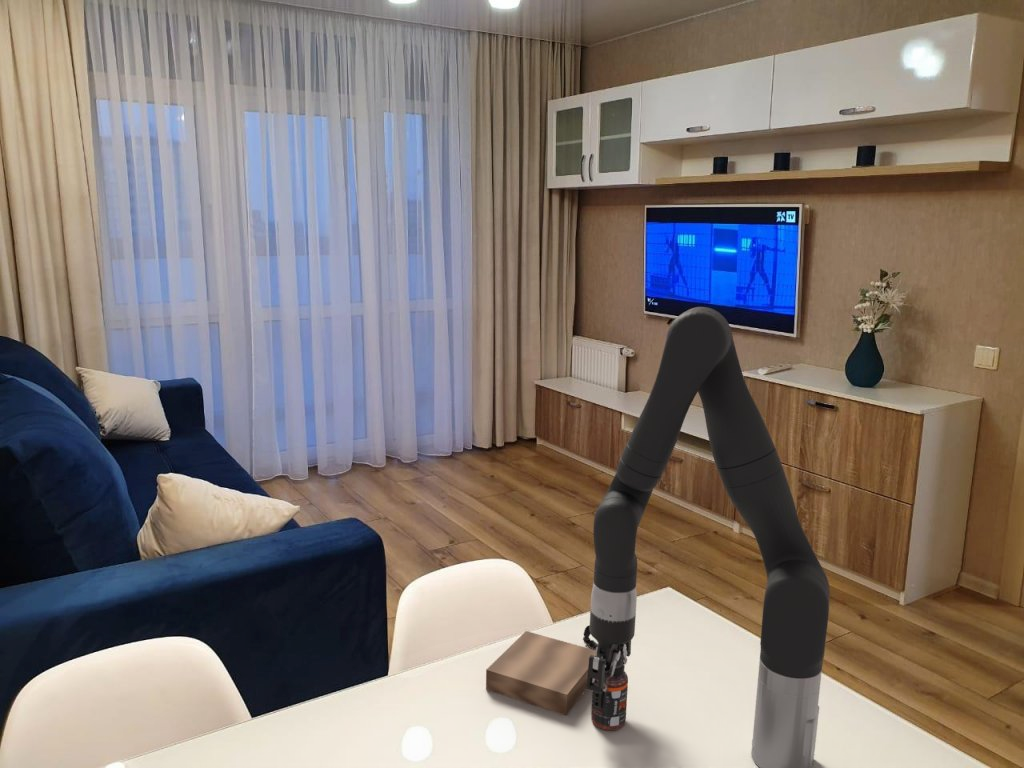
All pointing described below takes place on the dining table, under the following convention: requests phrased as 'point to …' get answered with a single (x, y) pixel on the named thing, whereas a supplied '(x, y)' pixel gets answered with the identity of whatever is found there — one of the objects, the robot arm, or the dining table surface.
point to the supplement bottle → (613, 701)
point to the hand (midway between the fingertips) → (608, 695)
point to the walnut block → (541, 672)
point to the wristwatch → (587, 639)
